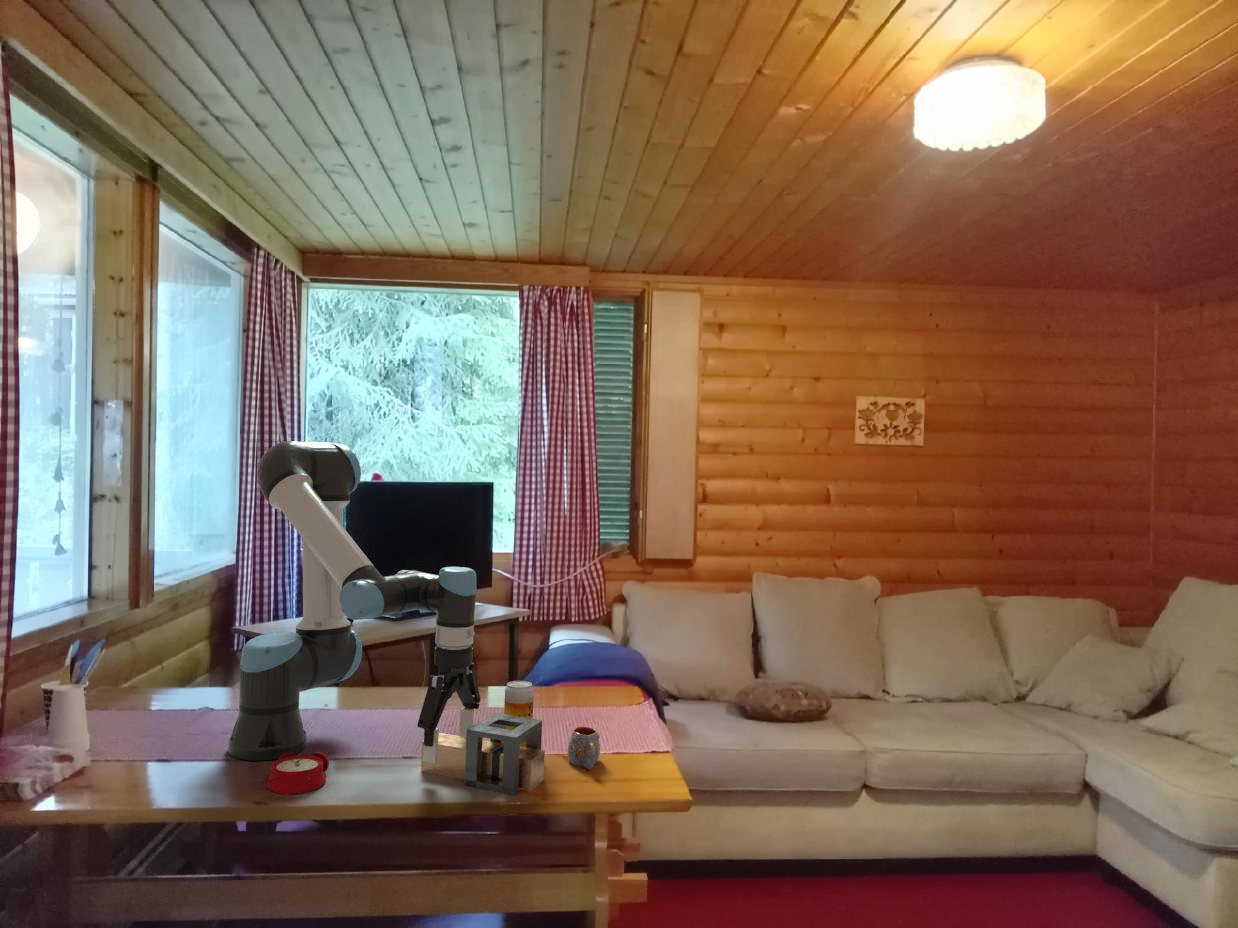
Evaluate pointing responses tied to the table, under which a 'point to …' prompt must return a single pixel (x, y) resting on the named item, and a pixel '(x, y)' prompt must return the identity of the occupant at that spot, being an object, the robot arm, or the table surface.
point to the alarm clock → (298, 773)
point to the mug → (584, 747)
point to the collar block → (511, 739)
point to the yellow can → (519, 701)
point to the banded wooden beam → (485, 761)
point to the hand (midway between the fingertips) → (448, 750)
